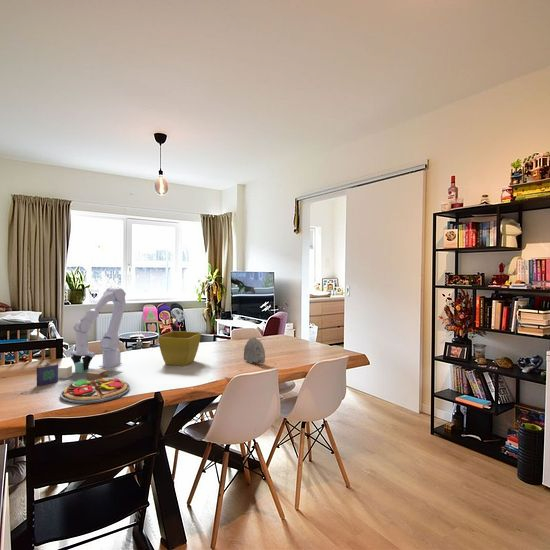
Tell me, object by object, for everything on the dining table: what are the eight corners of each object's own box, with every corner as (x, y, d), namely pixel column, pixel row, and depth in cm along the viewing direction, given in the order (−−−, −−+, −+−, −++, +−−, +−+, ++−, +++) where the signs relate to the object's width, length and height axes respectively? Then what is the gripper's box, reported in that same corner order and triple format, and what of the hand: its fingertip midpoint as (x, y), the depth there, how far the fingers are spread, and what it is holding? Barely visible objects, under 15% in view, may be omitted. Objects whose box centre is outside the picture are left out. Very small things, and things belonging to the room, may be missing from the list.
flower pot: (187, 368, 203) (188, 338, 202) (156, 365, 207) (157, 336, 206) (201, 359, 221) (201, 332, 221) (172, 357, 225) (172, 330, 225)
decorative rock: (242, 360, 221) (242, 336, 220) (251, 359, 224) (252, 335, 224) (257, 366, 207) (257, 340, 207) (266, 365, 211) (267, 339, 211)
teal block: (81, 370, 195) (81, 360, 195) (88, 370, 194) (88, 361, 193) (75, 372, 190) (75, 362, 190) (82, 373, 189) (82, 363, 189)
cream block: (63, 375, 185) (63, 365, 185) (71, 375, 185) (71, 365, 185) (57, 377, 180) (57, 367, 180) (66, 378, 180) (66, 368, 180)
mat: (85, 368, 199) (85, 368, 199) (123, 372, 192) (123, 371, 192) (55, 379, 179) (55, 378, 179) (95, 383, 173) (95, 383, 173)
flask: (56, 381, 176) (56, 359, 176) (59, 382, 175) (59, 360, 174) (35, 386, 169) (35, 363, 169) (38, 387, 167) (38, 364, 167)
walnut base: (96, 374, 187) (96, 368, 187) (108, 375, 185) (108, 370, 185) (86, 378, 180) (86, 372, 180) (98, 379, 178) (98, 373, 178)
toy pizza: (64, 409, 142) (64, 398, 142) (57, 389, 164) (57, 379, 164) (137, 395, 158) (137, 385, 158) (121, 378, 180) (121, 370, 180)
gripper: (64, 344, 190) (64, 370, 190) (87, 346, 186) (87, 372, 186) (75, 341, 197) (75, 366, 197) (97, 343, 193) (97, 369, 193)
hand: (81, 369), depth 192 cm, fingers open, 5 cm apart
